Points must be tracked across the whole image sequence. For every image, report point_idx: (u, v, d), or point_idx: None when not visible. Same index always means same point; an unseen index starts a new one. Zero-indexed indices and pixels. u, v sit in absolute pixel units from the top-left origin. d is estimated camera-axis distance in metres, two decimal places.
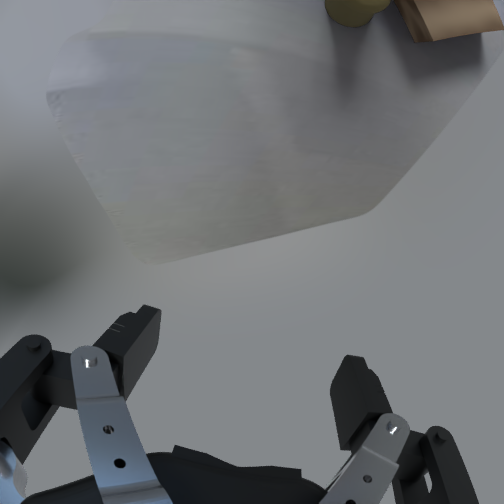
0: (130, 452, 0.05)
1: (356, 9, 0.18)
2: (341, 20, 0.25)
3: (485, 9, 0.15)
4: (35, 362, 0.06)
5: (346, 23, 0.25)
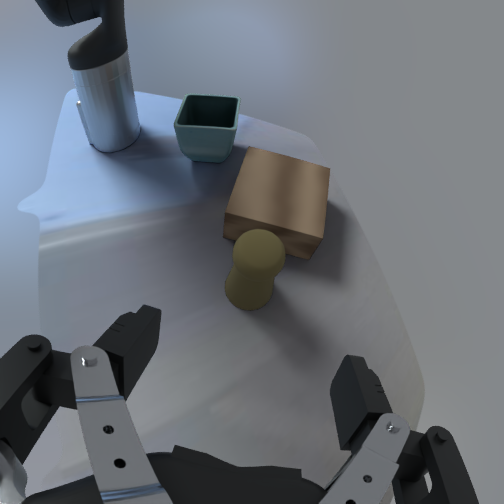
0: (130, 452, 0.04)
1: (272, 275, 0.28)
2: (259, 303, 0.35)
3: (309, 172, 0.39)
4: (35, 362, 0.06)
5: (263, 302, 0.36)
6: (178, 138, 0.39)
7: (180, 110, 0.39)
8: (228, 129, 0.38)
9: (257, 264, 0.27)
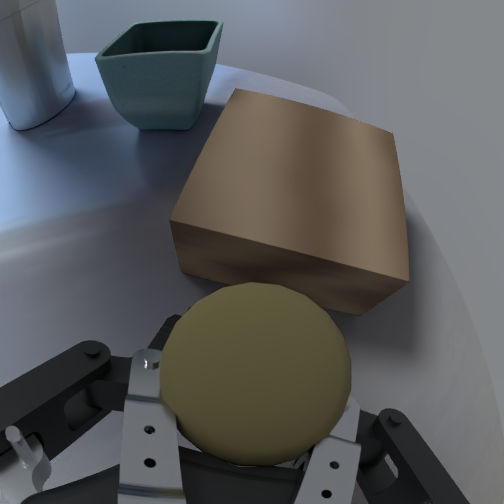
0: (164, 455, 0.05)
1: None
2: None
3: (360, 137, 0.18)
4: (97, 369, 0.07)
5: None
6: (105, 84, 0.18)
7: (114, 40, 0.17)
8: (193, 53, 0.16)
9: (249, 445, 0.05)
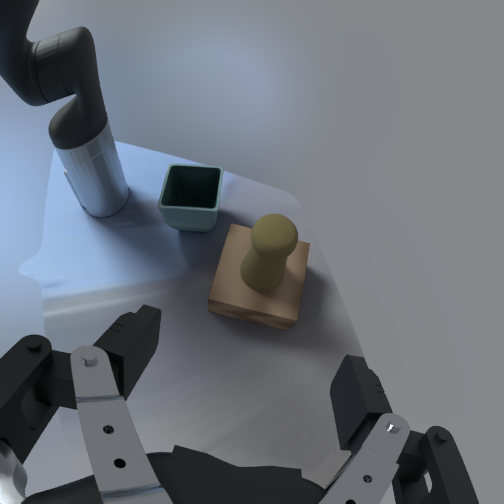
0: (130, 452, 0.05)
1: (287, 254, 0.32)
2: (272, 284, 0.38)
3: None
4: (35, 362, 0.06)
5: (276, 283, 0.39)
6: (163, 216, 0.43)
7: (164, 186, 0.42)
8: (210, 210, 0.41)
9: (274, 243, 0.31)
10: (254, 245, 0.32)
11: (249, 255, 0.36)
